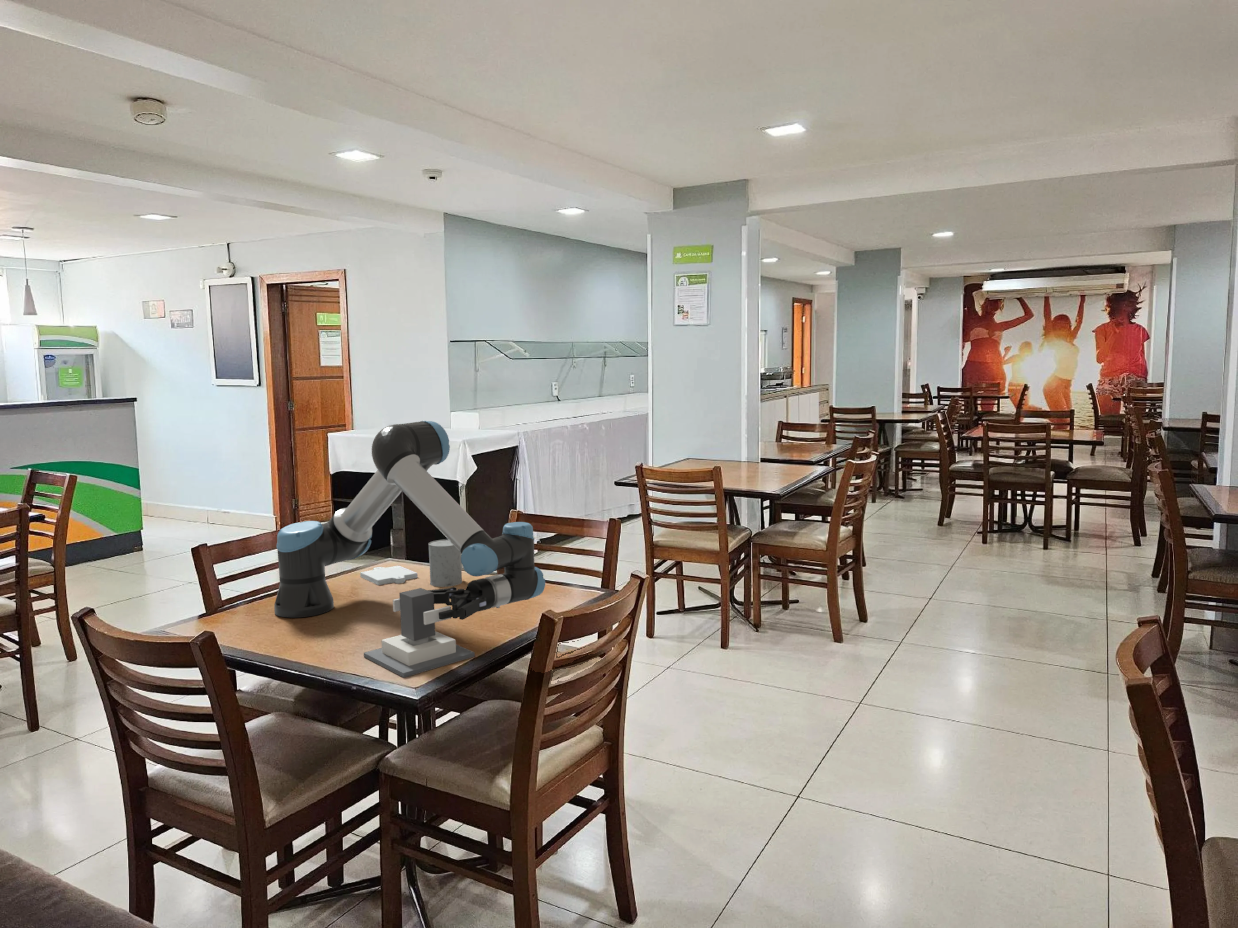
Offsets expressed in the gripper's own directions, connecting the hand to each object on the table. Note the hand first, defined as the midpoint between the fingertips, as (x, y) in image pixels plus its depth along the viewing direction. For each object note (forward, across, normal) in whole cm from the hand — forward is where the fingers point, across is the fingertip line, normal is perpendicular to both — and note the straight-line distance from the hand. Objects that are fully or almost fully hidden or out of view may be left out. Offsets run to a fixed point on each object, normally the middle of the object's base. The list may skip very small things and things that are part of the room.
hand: (408, 612), depth 192 cm
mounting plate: (-32, +70, -12) cm, 78 cm away
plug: (-2, 0, -10) cm, 10 cm away
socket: (-2, 0, -11) cm, 11 cm away
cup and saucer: (-52, +34, -11) cm, 64 cm away
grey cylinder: (-41, +52, -11) cm, 67 cm away
